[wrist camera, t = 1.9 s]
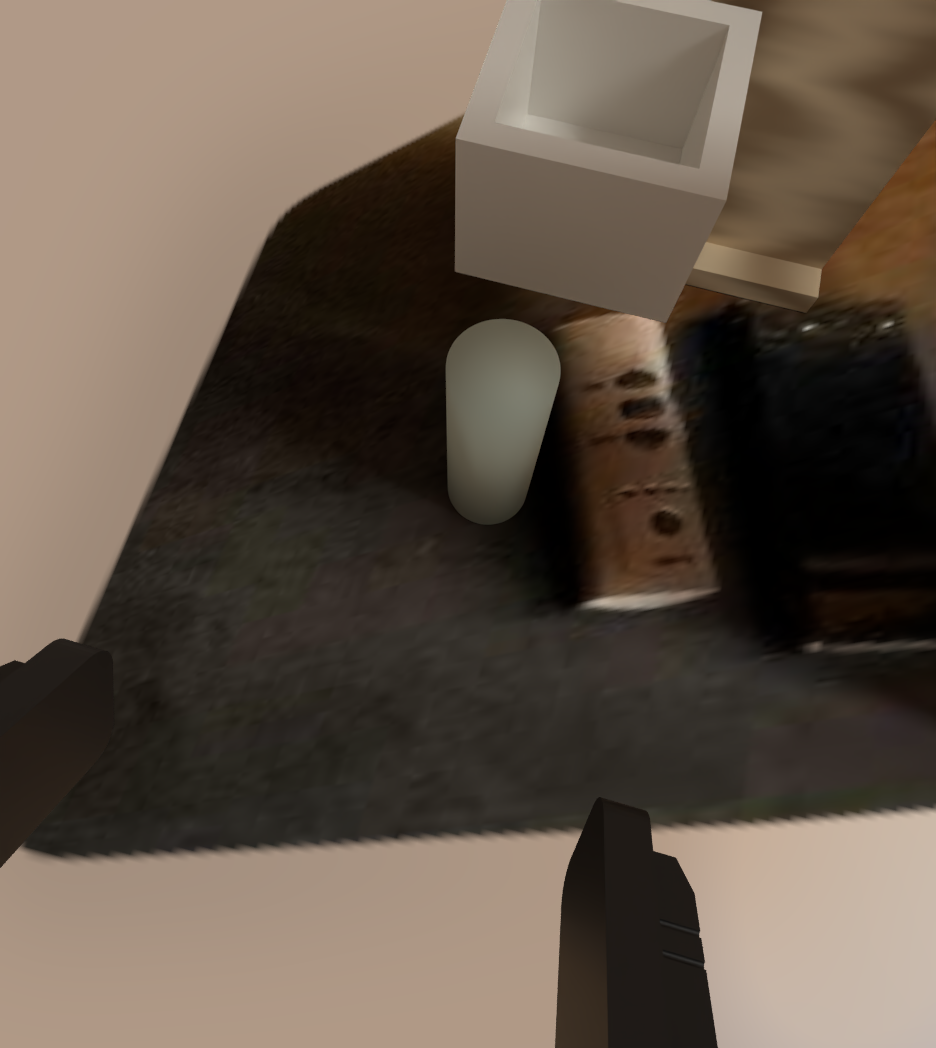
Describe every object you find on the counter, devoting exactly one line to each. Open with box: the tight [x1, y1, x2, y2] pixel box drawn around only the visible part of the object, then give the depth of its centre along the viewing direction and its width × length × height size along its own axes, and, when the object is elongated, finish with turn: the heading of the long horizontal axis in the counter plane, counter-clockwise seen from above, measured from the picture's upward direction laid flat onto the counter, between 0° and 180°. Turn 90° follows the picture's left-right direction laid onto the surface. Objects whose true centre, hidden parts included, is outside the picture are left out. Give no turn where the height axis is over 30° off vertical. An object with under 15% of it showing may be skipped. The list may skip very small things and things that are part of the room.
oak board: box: [685, 0, 936, 313], centre depth 27 cm, size 16×4×18 cm, turn 75°
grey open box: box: [455, 0, 762, 323], centre depth 25 cm, size 9×9×6 cm
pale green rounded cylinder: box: [446, 319, 561, 525], centre depth 26 cm, size 4×4×10 cm
